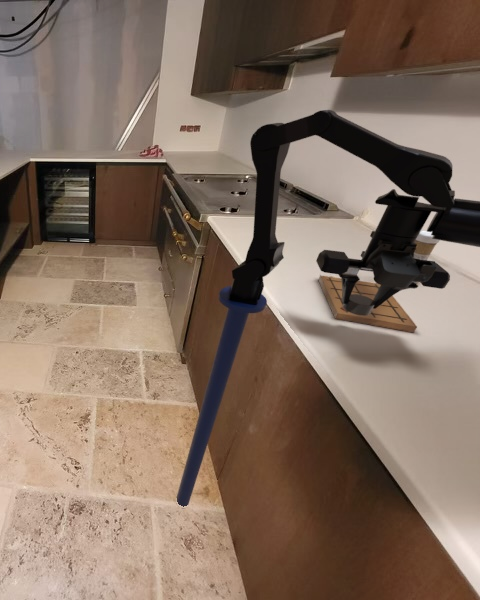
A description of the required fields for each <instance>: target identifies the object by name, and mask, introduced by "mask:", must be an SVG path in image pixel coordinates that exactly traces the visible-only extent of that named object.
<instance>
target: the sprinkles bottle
mask: <svg viewBox="0 0 480 600" xmlns="http://www.w3.org/2000/svg"><path fill="white" fill-rule="evenodd" d="M431 234H432V232H427V230H421V231H420V233H419V235H418V237H417V238H416V240H415V243H416V244H417V246H416V250H415V252H414V257H413V258H414V259H420V260H428V259H429V257H430V256H431V253H432V252H433V250H434V248H436V246H437V244H438V243H440V241H441V240H436V239H432V237H433V235H431Z"/></svg>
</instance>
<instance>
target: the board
mask: <svg viewBox="0 0 480 600" xmlns="http://www.w3.org/2000/svg"><path fill="white" fill-rule="evenodd" d="M317 280H318V282H319V285H320V287H321V290H322V292H323V295H324V296H325V299H326V301H327V304H328V305H329V307H330V309H331V312H332V314H333V317H334V319H337V320H340V321H341V320H342V321H347V322H354V323H359V324H364V325H371V326H376V327H381V328H386V329H392V330H398V331H404V332H409V333H414V332H415V331H416V329H417V328H418V326H417V325H416V323H415V322H414V321H413V319H412V318H411V317H410V315H408V313H407V312H406V310H405V309H404V308H403V307H402V306H401V304H400V303H399V302H398V301H397V299H396V298H395V297H394V295H393V296H391V297H390V298H389V299H387V300H386V301H385V302H384V303H382V304H381V305H380V306H378V307H377V308H376V309H373V310H372V311H371V313H370V314H369V315H367V316H361V315H356V314H353V313H350V312H348V311H346V310H345V309H344V308H343V304H344V303H343V301H342V279H341V277H334V276H328V275H319V277H318V279H317ZM379 287H380V284H377V283H376V282H370V281H362V280H359V281H358V282H356V283H355V285H354V288H353V291H352V293H351V294H358V295H363V296H366V297H368V298H371V299H372V300H373V299H374V297H375V295H376V293H377V291H378V289H379Z"/></svg>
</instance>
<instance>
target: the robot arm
mask: <svg viewBox="0 0 480 600" xmlns="http://www.w3.org/2000/svg"><path fill="white" fill-rule="evenodd" d="M314 136H317V137H319V138H321V139H323V140H325V141H327V142H329V143H331V144H333V146H336V147H338V148H340V149H342V150H344V151H346V152H348V153H350V154H351V155H353V156H355V157H357V158H359V159H361V160H362V161H365V162H367V163H368V164H370V165H372V166H374V167H376V168H377V169H378V170H379V171H380V172H382V173H383V175H384V176H385V177H386V178H387V179H388V180H390V182H391V183H393V184H394V185H395V186H396V187H398V188H399V189H400V190H401V191H402V192H403V193H404V194H406V195H403V194H399V193H398V192H397V190H396V189H395V188H392V189H391V190H389V191H388V192H387V193H384V194H383V195H379V196H378V197H377V198H376V200H374V203H375V204H376V205H381V206H386V208H385V210H384V212H383V214H382V216H381V218H380V220H379V222H378V224H377V226H376V228H375V230H372V231H371V232H370V235H369V237H370V240H369V243H368V244H367V247H366V249H365V250H362V251H361V253H360V257H361V259H357V258H349V256H348V255H347V253H345V251H338V250H331V249H323V250H322V251H320V252H319V253H318V255H317V258H316V260H315V262H316V264H317V266H318V268H319V270H320V272H322V273H326V274H333V275H338V277H339V278H341V279H342V301H343V303H344V304H346V303H347V302H348V300H349V298H350V296H351V293H352V291H353V288H354V285H355V283H356V282H358V281H361V280H360V276H359V275H358V274H359V272H360V271H366V272H372V274H373V281H374V283H377V284H380V287H379V289H378V291H377V293H376V295H375V297H374V299H373V300H374V301H375V303H376V304H375V306H374V308H373V309H376V308H377V307H378V306H380V305H381V304H382V303H384V302H385V301H386V300H387V299H389V298H390V297H391V296H393V297H394V296H395V295H396V294H398V293H399V292H401V291H404V290H408V289H418V288H419V285H418V284H417V283H420V284H421V285H422V287H427V288H432V289H433V288H434V289H440V290H443V289H445V288H446V287H447V285H448V283H449V282H450V281H451V274H450V273H449V271H447V270H446V269H445V268H444V267H442V266H441V265H439V264H438V263H437V262H436V261H434V260H428V259H427V260H420V259H414V258H413V257H414V252H415V250H416V246H417V244H416V243H415V240H416V238H417V237H418V235H419V233H420V231H422V229H423V228H424V226H425V224H426V222H427V220H428V219H429V217H430V215H431V213H432V212H433V213H435V214H434V215H433V218H432V219H431V221H430V223H429V225H428V226H427V228H426V231H427V232H432V234H431V235H433V237H432V239H436V240H440V241H443V242H447V243H448V242H449V243H454V244H459V245H465V246H471V247H477V248H480V200H473V199H464V198H455V196H456V191H455V190H453V189H452V186H451V184H450V182H451V179H452V178H453V163H452V161H451V159H449V158H448V157H447V156H444V155H440V154H438V153H434V152H430V151H426V150H423V149H418V148H413V147H408V146H404V145H401V144H398V143H397V142H394V141H391V140H389V139H388V138H385V137H383V136H382V135H380V134H378V133H376V132H374V131H371V130H369V129H367V128H365V127H364V126H362V125H359V124H358V123H355V122H353V121H351V120H349V119H347V118H344V117H343V116H341V115H339V114H337V112H336V111H335V110H332V109H322V110H318V111H316V112H314V113H313V114H310V115H307V116H304V117H301V118H297V119H295V120H292V121H289V122H286V123H283V122H274V123H267V124H264V125H261V126H260V127H258V128H257V129H256V130H255V132H254V133H252V136H251V138H250V143H249V144H250V154H251V161H252V163H253V166H254V169H255V172H256V184H255V198H254V200H255V202H254V203H255V204H254V217H253V233H252V239H251V242H250V245H249V247H248V249H247V252H246V256H245V260H243V261H242V262H241V263H240V264H239V265H237V266H236V267H235V268H233V269H232V270H231V275H232V282H231V284H230V286H231V288H230V289H229V300H230V301H235V302H241V303H247V304H252V305H257V303H258V302H257V300H260V297H261V294H262V295H263V291H264V287H265V284H264V278H265V277H266V276H268V275H269V274H271V272H272V271H273V270H274V269H275V268H276V267H278V265H279V264H280V262H281V261H283V259H285V256H284V254H283V251H284V247H285V242H284V241H280V242H279V241H278V239H277V235H276V231H277V219H278V207H279V196H280V185H281V184H280V183H281V173H282V168H283V166H284V164H285V161H286V158H287V156H288V153H289V149H290V145H291V143H294V142H298V141H301V140H304V139H307V138H310V137H314ZM420 197H422V198H423V199H424V200H425V201H427V203H425V202H421V201H419V199H420Z"/></svg>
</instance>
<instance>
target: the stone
mask: <svg viewBox="0 0 480 600" xmlns="http://www.w3.org/2000/svg"><path fill="white" fill-rule="evenodd" d="M375 304H376V303H375V301H374V300H372V299H371V298H368V297H366V296H363V295H358V294H351V296H350V298H349V300H348V302H347V303H346V304H343V308H344V309H345V310H346V311H348V312H350V313H353V314H356V315H361V316H367V315H369V314H370V313H371V311H372V310H373V308H374V306H375Z"/></svg>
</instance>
